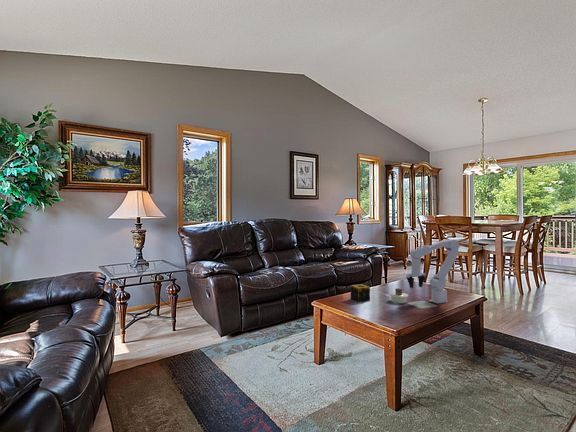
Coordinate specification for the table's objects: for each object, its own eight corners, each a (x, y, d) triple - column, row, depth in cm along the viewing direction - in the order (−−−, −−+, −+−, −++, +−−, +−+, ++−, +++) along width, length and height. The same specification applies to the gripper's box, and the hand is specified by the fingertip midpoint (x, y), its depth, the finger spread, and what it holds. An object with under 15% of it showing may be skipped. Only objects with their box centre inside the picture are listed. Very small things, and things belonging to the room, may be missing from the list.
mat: (422, 301, 221) (422, 300, 221) (438, 306, 208) (438, 306, 208) (406, 303, 216) (406, 302, 216) (421, 309, 203) (421, 308, 203)
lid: (400, 292, 228) (400, 286, 228) (412, 296, 217) (411, 289, 217) (385, 294, 224) (385, 287, 224) (397, 298, 213) (397, 291, 213)
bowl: (399, 299, 226) (399, 293, 226) (409, 303, 218) (409, 296, 218) (388, 301, 223) (388, 294, 223) (397, 304, 214) (397, 297, 214)
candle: (350, 299, 230) (349, 285, 230) (362, 297, 234) (362, 283, 234) (358, 302, 221) (357, 288, 221) (370, 301, 224) (370, 286, 224)
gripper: (411, 268, 212) (411, 289, 212) (428, 267, 217) (428, 287, 217) (404, 267, 218) (404, 287, 218) (421, 266, 223) (421, 285, 223)
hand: (416, 287), depth 218 cm, fingers open, 7 cm apart
